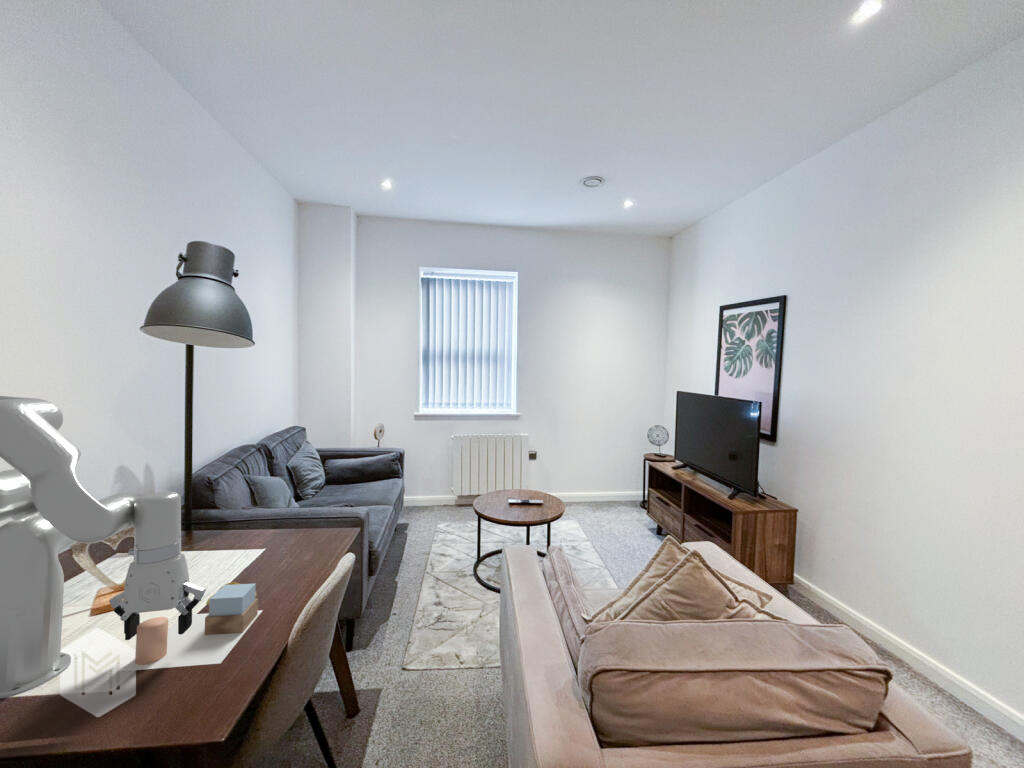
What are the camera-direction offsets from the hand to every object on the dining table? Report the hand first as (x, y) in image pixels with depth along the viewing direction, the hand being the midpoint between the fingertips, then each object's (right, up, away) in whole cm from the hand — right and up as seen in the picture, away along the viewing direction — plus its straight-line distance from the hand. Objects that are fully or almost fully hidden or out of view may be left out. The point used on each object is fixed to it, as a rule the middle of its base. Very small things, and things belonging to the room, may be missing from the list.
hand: (158, 633), depth 87 cm
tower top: (+7, -1, +12) cm, 14 cm away
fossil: (-1, -6, +25) cm, 26 cm away
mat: (+3, -6, +7) cm, 10 cm away
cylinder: (-1, -5, 0) cm, 5 cm away
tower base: (+7, -5, +12) cm, 15 cm away
